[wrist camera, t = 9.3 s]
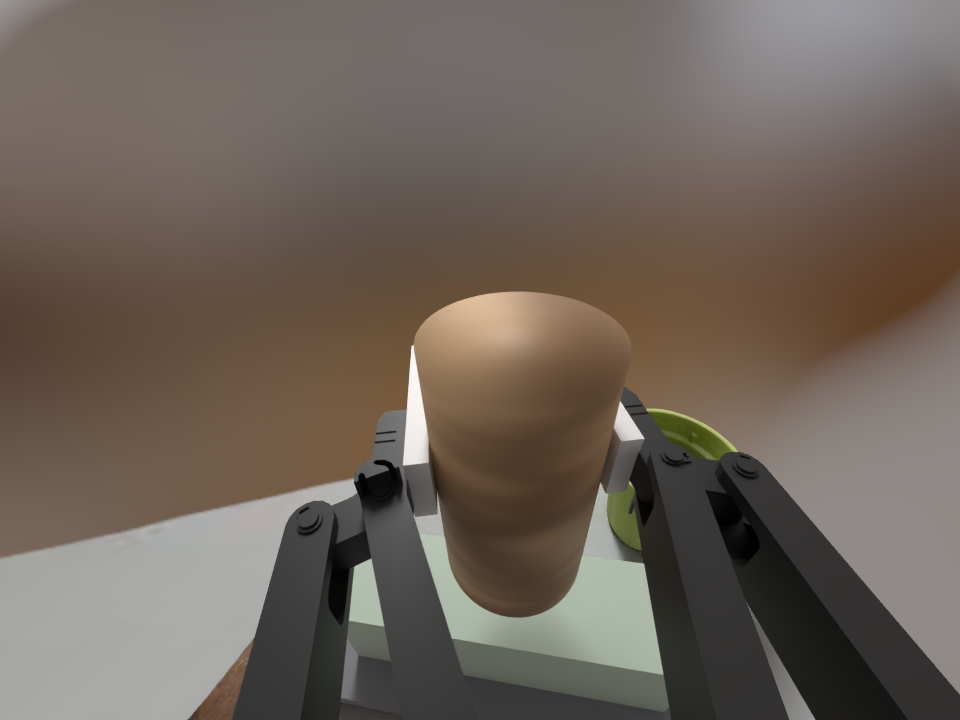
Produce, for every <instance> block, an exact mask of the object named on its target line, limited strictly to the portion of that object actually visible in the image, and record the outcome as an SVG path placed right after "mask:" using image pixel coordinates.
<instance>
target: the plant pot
mask: <svg viewBox="0 0 960 720" xmlns="http://www.w3.org/2000/svg"><path fill="white" fill-rule="evenodd" d="M646 410H647V411H648V414H650V415H651V417H652V418H653V419H654V421H655V422H656V424H657V425H658V426H659V428H660V429H661V431H662V432H663V433H664V435H665V436H666V437H667V439H668V440H669V442H670V443H674V444H677V445H679V446H681V447H683V448H684V449H686V450H687V451H688V452H689V453H690V454H691V456H694V457H698V458H705V459H711V460H718V461H719V460H720V458H721V457H722V456H723V455H724V454H725V453H727V452H738V451H737V450H736V449H735V447H734V446H732V444H731V443H729V442H728V441H727V440H726V439H725V438H724V437H723V436H721V435H720V434H719V433H717V432H716V431H715V430H713V429H712V428H710V427H708V426H707V425H705V424H703V423H701V422H699V421H697V420H695V419H693V418H690V417H688V416H685V415H682V414H678V413H675V412H672V411H667V410H661V409H646ZM634 493H635V489H634V488H633V486H632V484H631V482H629V485H628V487H627V490H626V491H622V492H614V493H608V500H607V516H608V520H609V523H610V525H611V527H612V529H613V530H614V532H615V533H616V534H617V536H618V537H619V538H620V539H621V540H622V541H623V542H624V543H626V544H627V545H628V546H630V547H631V548H634V549H637V550H640V551H642V549H641V543H640V538H639V532H638V526H637V521H636V515H635V509H633V512H632V514H628V512H629V506H630V503H631V501H632V498H633V495H634Z"/></svg>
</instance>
